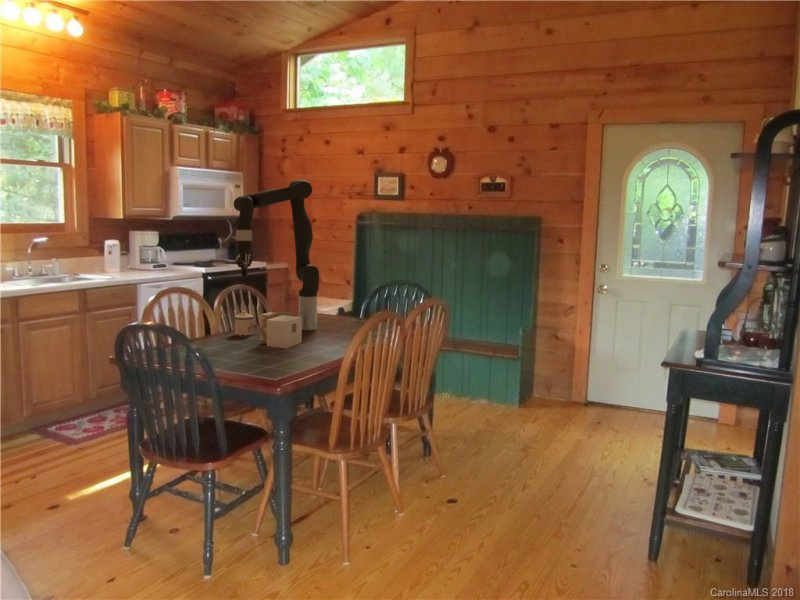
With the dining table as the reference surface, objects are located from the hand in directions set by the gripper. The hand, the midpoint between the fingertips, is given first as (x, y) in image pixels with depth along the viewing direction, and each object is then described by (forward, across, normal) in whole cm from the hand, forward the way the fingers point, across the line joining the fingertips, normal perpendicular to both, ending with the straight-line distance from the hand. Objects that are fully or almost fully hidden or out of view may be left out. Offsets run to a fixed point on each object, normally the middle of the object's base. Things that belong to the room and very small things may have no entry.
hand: (244, 276), depth 310 cm
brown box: (+28, -8, -23) cm, 38 cm away
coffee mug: (+29, +13, -12) cm, 34 cm away
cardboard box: (+29, -8, -26) cm, 40 cm away
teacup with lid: (+29, +5, +3) cm, 30 cm away
